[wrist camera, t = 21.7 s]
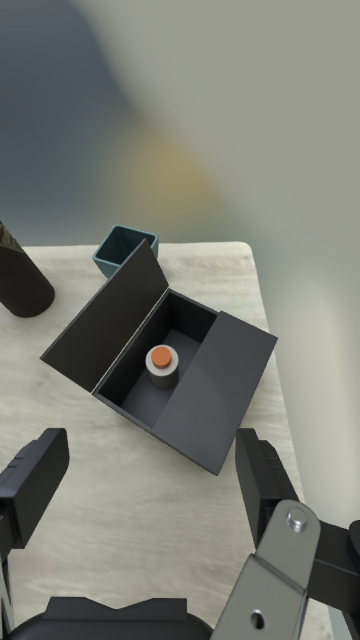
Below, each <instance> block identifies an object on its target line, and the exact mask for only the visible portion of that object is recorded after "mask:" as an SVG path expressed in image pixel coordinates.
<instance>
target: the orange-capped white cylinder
mask: <svg viewBox="0 0 360 640" xmlns="http://www.w3.org/2000/svg"><path fill="white" fill-rule="evenodd" d="M146 366H147V369H148V371H149V374H150V377H151V379H152V382H153V384H154V386H155V387H156V388H158V389H160V390H170V389H172V388H173V387H175V385H176V384H177V382H178V379H179V366H178V355H177V353H176V351H175V350H174V349H173V348H171V347H170V346H167V345H158V346H155V347H154V348H152V349H151V350H150V351H149V352H148V354H147V356H146Z"/></svg>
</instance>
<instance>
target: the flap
mask: <svg viewBox="0 0 360 640" xmlns="http://www.w3.org/2000/svg"><path fill="white" fill-rule="evenodd" d="M168 286H169V284H168V282H167V280H166V278H165V276H164V274H163V272H162V270H161V268H160V266H159V263H158V261H157V259H156V257H155V255H154V253H153V251H152V249H151V247H150V245H149V242H148V240H147V239H146V238H144V239H143V240H142V242H141V243H140V244H139V245H138V246H137V247H136V248H135V250H134V251H133V252H132V253H131V254H130V255H129V256H128V258H127V259H126V260H125V261H124V262H123V263H122V264H121V266H120V267H119V268H118V269H117V270H116V271H115V272H114V274H113V275H112V276H111V277H110V278H109V279H108V280H107V282H106V283H105V284H104V285H103V286H102V287H101V288H100V290H99V291H98V292H97V293H96V294H95V295H94V296H93V297H92V299H91V300H90V301H89V302H88V303H87V304H86V305H85V307H84V308H83V309H82V310H81V311H80V312H79V313H78V315H77V316H76V317H75V318H74V319H73V320H72V321H71V323H70V324H69V325H68V326H67V327H66V328H65V329H64V331H63V332H62V333H61V334H60V335H59V336H58V337H57V339H56V340H55V341H54V342H53V343H52V344H51V345H50V347H49V348H48V349H47V350H46V351H45V352H44V353H43V355H42V356H41V357H40V359H41V360H42V361H44V362H45V363H47V364H48V365H50V366H51V367H53V368H54V369H56V370H57V371H58V372H60V373H61V374H63V375H64V376H66V377H67V378H69V379H70V380H72V381H73V382H75V383H76V384H78V385H79V386H81V387H82V388H84V389H85V390H86V391H88V392H89V393H91V392H92V390H93V389H94V388H95V386H96V385H97V383H98V382H99V381H100V379H101V378H102V377H103V375H104V374H105V373H106V371H107V370H108V368H109V367H110V366H111V364H112V363H113V362H114V360H115V359H116V357H117V356H118V355H119V353H120V352H121V351H122V349H123V348H124V347H125V345H126V344H127V342H128V341H129V340H130V338H131V337H132V336H133V334H134V333H135V331H136V330H137V329H138V327H139V326H140V325H141V323H142V322H143V320H144V319H145V318H146V316H147V315H148V314H149V312H150V311H151V310H152V308H153V307H154V305H155V304H156V303H157V301H158V300H159V299H160V297H161V296H162V294H163V293H164V292H165V290H166V289H167V288H168Z"/></svg>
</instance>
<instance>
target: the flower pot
mask: <svg viewBox="0 0 360 640" xmlns="http://www.w3.org/2000/svg"><path fill="white" fill-rule="evenodd" d="M144 238H146V239H147V240H148V242H149V245H150V247H151V249H152V251H153V253H154V255H155V257H156V259H157V257H158V238H159V236H158V235H156V234H152V233H149V232H145V231H141V230H137V229H134V228H130V227H126V226H123V225H119V224H115V225H114V226H113V227H112V229H111V230H110V232H109V233H108V234H107V236H106V238H105V239H104V240H103V242H102V244H101V245H100V246H99V248H98V249H97V250H96V252H95V253H94V255H93V257H92V259H93V260H94V261H95V263H96V264H97V266H98V267H99V269H100V270H101V272H102V273H103V274H104V275H105V276H106V277H107V278H108V279H109V278H110V277H111V276H112V275H113V274H114V272H115V271H116V270H117V269H118V268H119V267H120V266H121V264H122V263H123V262H124V261H125V260H126V259H127V258H128V256H129V255H130V254H131V253H132V252H133V251H134V250H135V248H136V247H137V246H138V245H139V244H140V243H141V242H142V240H143V239H144Z"/></svg>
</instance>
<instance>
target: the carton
mask: <svg viewBox="0 0 360 640" xmlns="http://www.w3.org/2000/svg"><path fill="white" fill-rule="evenodd" d="M277 339H278V338H277V337H275V336H273V335H271V334H269V333H267V332H265V331H263V330H261V329H259V328H257V327H255V326H252V325H250V324H248V323H246V322H244V321H242V320H240V319H238V318H236V317H234V316H232V315H230V314H227V313H225V312H223V311H220V313H219V312H217V311H215V310H213V309H211V308H209V307H207V306H205V305H202V304H200V303H198V302H196V301H194V300H192V299H190V298H188V297H186V296H184V295H182V294H180V293H178V292H176V291H174V290H171V289H169V288H168V290H167V291H166V292H165V294H164V295H163V297H162V298H161V299H160V301H159V302H158V303H157V305H156V306H155V308H154V309H153V310H152V312H151V313H150V314H149V316H148V317H147V319H146V320H145V321H144V323H143V324H142V325H141V327H140V328H139V330H138V331H137V332H136V334H135V335H134V336H133V338H132V339H131V341H130V342H129V343H128V345H127V346H126V347H125V349H124V350H123V352H122V353H121V354H120V356H119V357H118V358H117V360H116V361H115V363H114V364H113V365H112V367H111V368H110V369H109V371H108V372H107V374H106V375H105V376H104V378H103V379H102V380H101V382H100V383H99V385H98V386H97V387H96V389H95V390H94V392H93V393H92V395H93V396H94V397H96V398H97V399H99V400H100V401H102V402H103V403H104V404H106V405H107V406H109V407H110V408H112V409H113V410H114V411H116V412H117V413H119V414H121V415H122V416H124V417H125V418H127V419H128V420H130V421H131V422H133V423H134V424H136V425H137V426H139V427H140V428H142V429H144V430H145V431H147V432H148V433H150V434H151V435H153V436H154V437H156V438H157V439H159V440H160V441H162V442H163V443H165V444H167V445H168V446H170V447H171V448H173V449H174V450H176V451H177V452H179V453H180V454H182V455H183V456H185V457H186V458H188V459H190V460H191V461H193V462H194V463H196V464H197V465H199V466H200V467H202V468H203V469H205V470H206V471H208V472H210V473H212V474H214V475H216V476H218V474H219V472H220V470H221V467H222V465H223V463H224V461H225V458H226V456H227V454H228V451H229V449H230V447H231V445H232V442H233V440H234V438H235V435H236V432H237V428H239V426H240V424H241V422H242V419H243V417H244V415H245V413H246V410H247V408H248V406H249V404H250V401H251V399H252V397H253V394H254V392H255V390H256V388H257V385H258V383H259V381H260V378H261V376H262V374H263V372H264V369H265V367H266V365H267V362H268V360H269V358H270V356H271V353H272V351H273V349H274V346H275V344H276V342H277ZM158 345H167V346H170V347H171V348H173V349H174V350H175V351H176V353H177V355H178V366H179V379H178V382H177V384H176V385H175V387H173V388H172V389H170V390H160V389H158V388H156V387H155V386H154V384H153V382H152V379H151V377H150V374H149V371H148V369H147V366H146V356H147V354H148V352H149V351H150V350H151V349H152V348H154V347H155V346H158Z"/></svg>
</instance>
